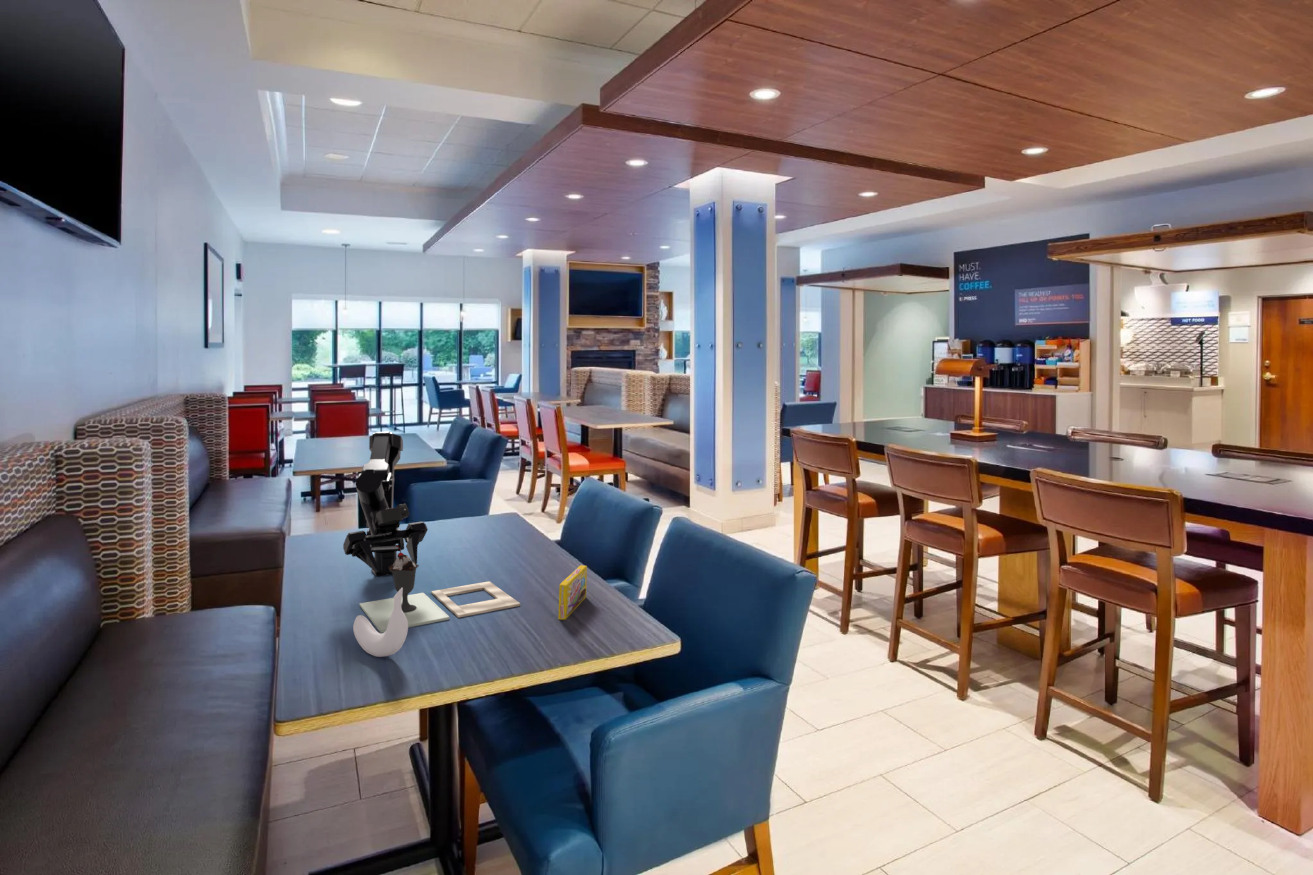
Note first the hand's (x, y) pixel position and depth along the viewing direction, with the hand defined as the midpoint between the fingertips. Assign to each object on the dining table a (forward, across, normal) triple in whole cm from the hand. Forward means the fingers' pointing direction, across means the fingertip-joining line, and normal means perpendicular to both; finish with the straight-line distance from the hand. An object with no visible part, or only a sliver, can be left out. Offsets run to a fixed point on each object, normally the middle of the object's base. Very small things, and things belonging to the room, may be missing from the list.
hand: (396, 567), depth 178 cm
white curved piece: (+24, -14, -10) cm, 29 cm away
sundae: (+9, 0, +3) cm, 10 cm away
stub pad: (+10, -1, +3) cm, 10 cm away
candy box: (+26, +31, -12) cm, 42 cm away
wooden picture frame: (+11, +16, +2) cm, 20 cm away
